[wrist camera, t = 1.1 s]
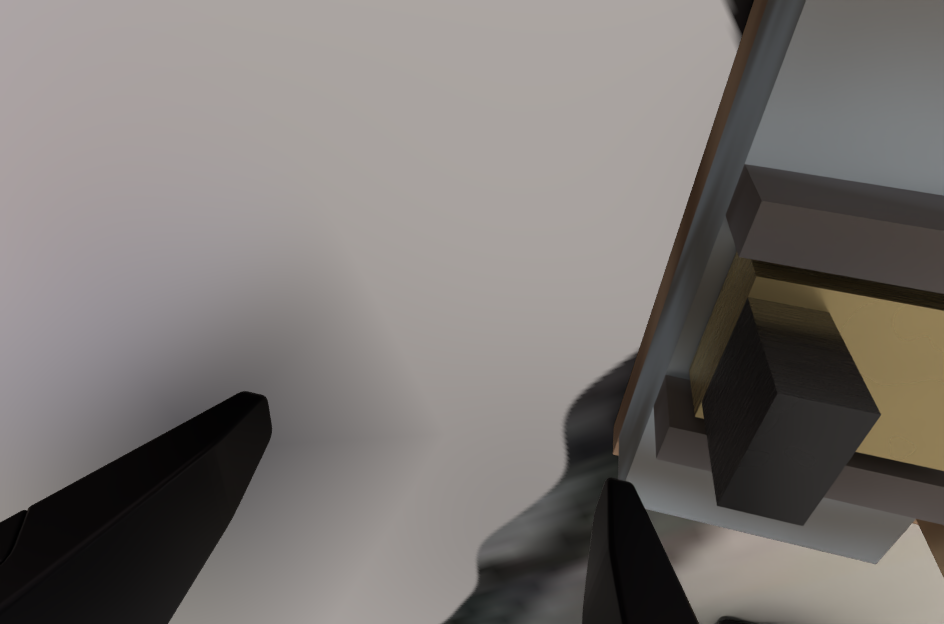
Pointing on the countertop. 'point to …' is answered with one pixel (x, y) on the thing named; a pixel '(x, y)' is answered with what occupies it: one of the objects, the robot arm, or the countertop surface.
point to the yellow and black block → (814, 383)
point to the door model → (802, 243)
